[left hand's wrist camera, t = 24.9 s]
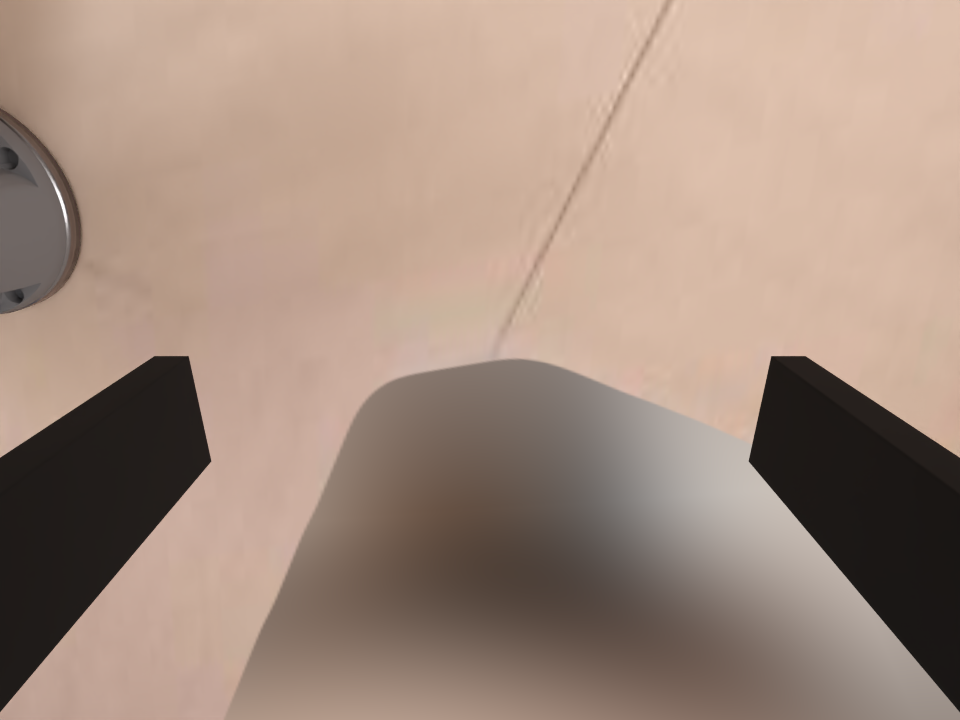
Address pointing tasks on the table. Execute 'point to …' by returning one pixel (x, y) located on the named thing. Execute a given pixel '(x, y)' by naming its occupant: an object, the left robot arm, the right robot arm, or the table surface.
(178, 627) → the table surface
